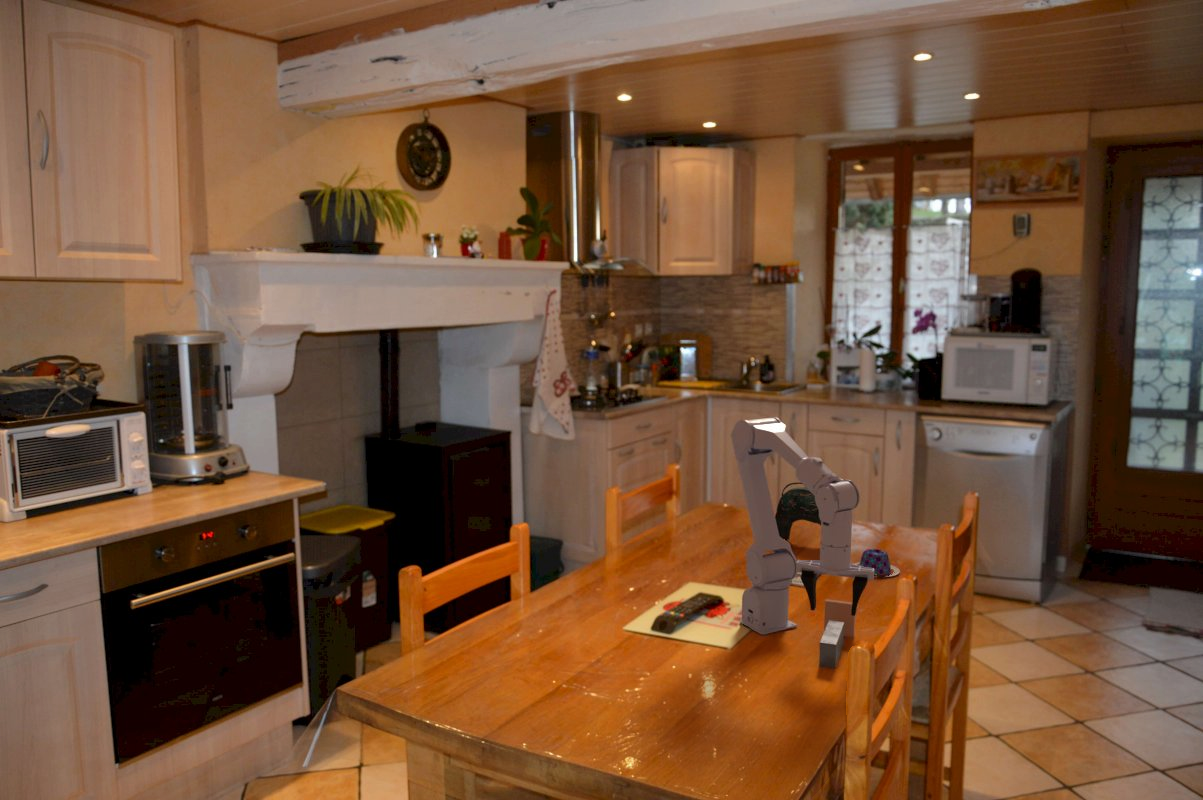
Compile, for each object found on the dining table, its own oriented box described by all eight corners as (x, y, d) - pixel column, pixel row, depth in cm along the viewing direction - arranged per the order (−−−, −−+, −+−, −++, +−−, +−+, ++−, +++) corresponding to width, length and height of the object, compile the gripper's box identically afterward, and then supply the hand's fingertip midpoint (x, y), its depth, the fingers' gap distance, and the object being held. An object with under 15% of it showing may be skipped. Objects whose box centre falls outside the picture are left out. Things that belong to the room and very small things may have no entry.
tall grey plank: (835, 669, 173) (836, 644, 172) (819, 667, 174) (819, 642, 173) (843, 646, 184) (844, 622, 183) (828, 644, 185) (828, 620, 184)
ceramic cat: (848, 546, 251) (851, 474, 248) (841, 552, 246) (844, 479, 243) (779, 535, 261) (781, 466, 259) (771, 540, 256) (773, 470, 253)
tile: (853, 637, 188) (855, 604, 187) (823, 633, 190) (825, 601, 189) (854, 634, 189) (855, 602, 188) (824, 630, 192) (826, 598, 191)
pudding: (906, 580, 224) (907, 559, 223) (856, 579, 224) (857, 559, 224) (891, 564, 236) (892, 544, 235) (844, 564, 236) (845, 544, 235)
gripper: (794, 545, 175) (792, 613, 177) (872, 553, 170) (870, 623, 171) (800, 535, 181) (798, 601, 183) (876, 543, 176) (873, 610, 178)
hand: (833, 611), depth 178 cm, fingers open, 7 cm apart
